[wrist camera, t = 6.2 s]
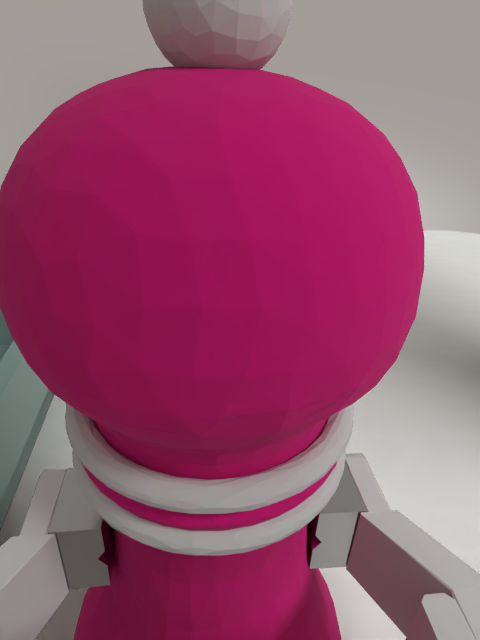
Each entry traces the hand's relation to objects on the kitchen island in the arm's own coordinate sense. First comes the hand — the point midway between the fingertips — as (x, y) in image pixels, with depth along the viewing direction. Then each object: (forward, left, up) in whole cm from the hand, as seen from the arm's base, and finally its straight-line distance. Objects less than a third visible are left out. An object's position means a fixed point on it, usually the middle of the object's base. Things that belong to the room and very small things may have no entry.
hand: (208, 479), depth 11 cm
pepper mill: (0, +1, -10) cm, 10 cm away
